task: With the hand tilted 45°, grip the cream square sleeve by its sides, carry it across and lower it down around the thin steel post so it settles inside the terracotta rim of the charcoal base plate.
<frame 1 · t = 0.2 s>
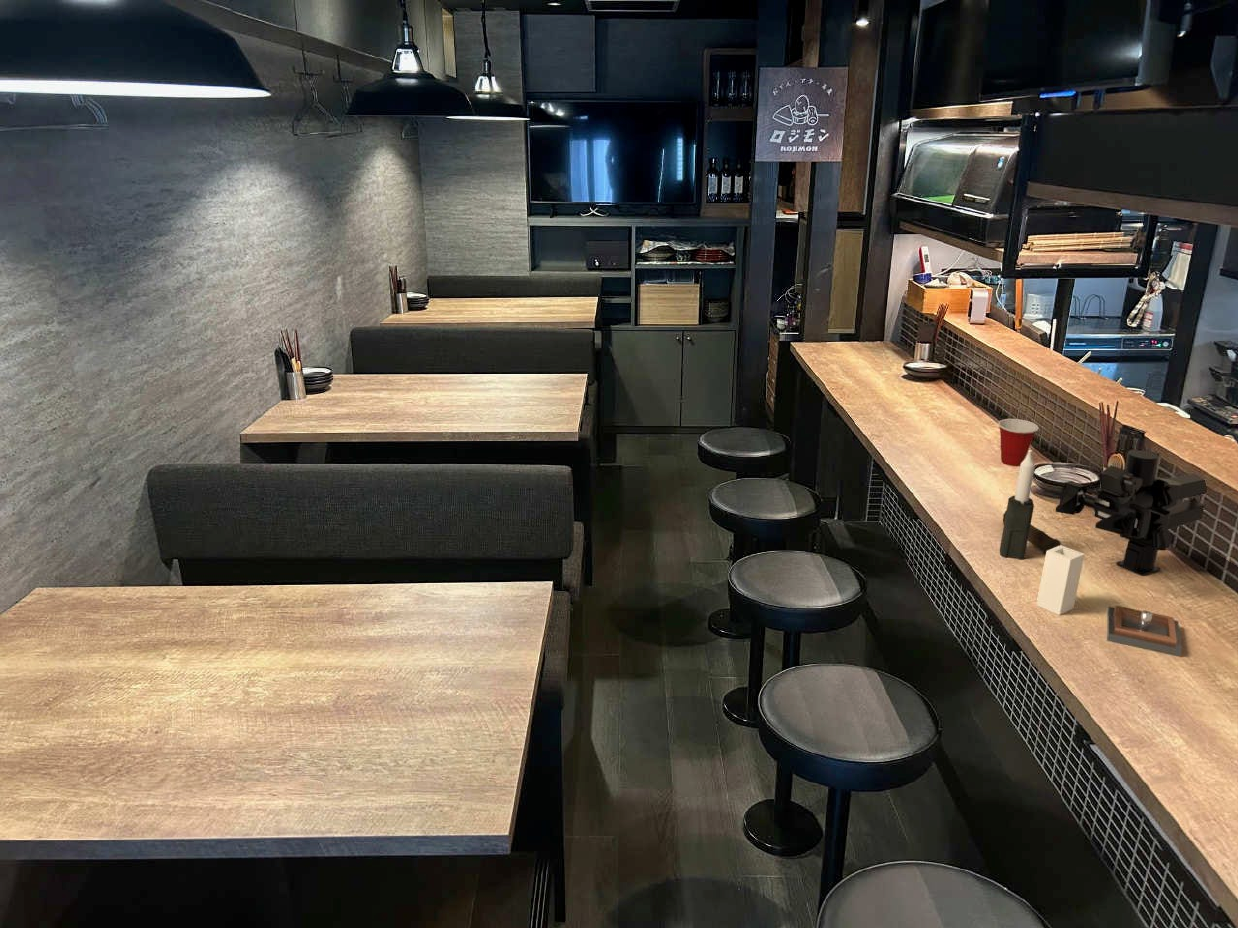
hand: (1075, 517, 187), 17 cm above the table, tool horizontal, fingers open, 9 cm apart
seat plate: (1142, 633, 176), on the table
sleeve: (1054, 606, 185), on the table
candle: (1011, 554, 209), on the table
plastic cup: (1011, 463, 269), on the table
hand tool: (1024, 540, 218), on the table
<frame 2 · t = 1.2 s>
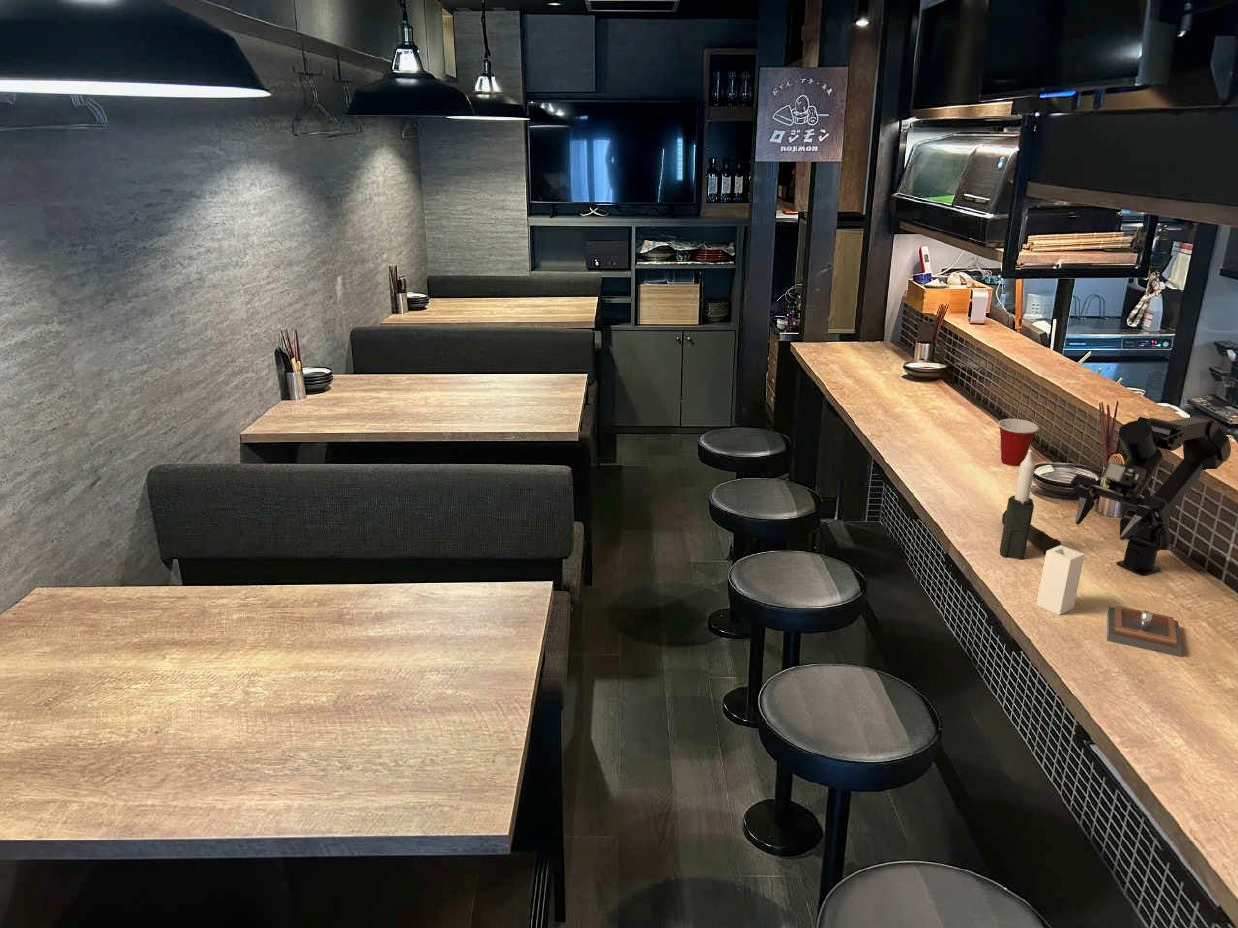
hand: (1098, 531, 187), 14 cm above the table, tool tilted 45°, fingers open, 9 cm apart
nothing on the table moved.
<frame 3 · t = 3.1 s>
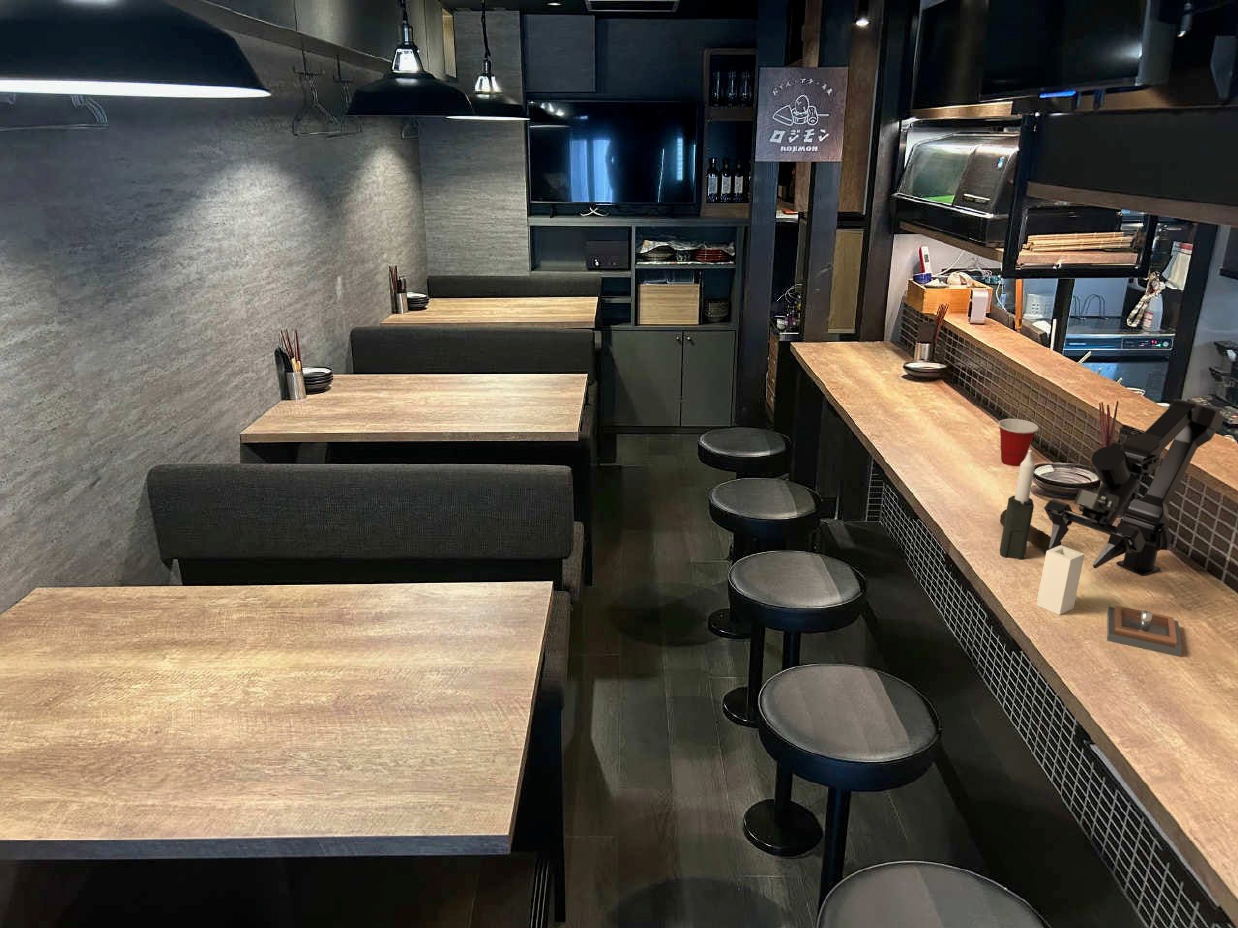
hand: (1071, 558, 184), 10 cm above the table, tool tilted 45°, fingers open, 9 cm apart
nothing on the table moved.
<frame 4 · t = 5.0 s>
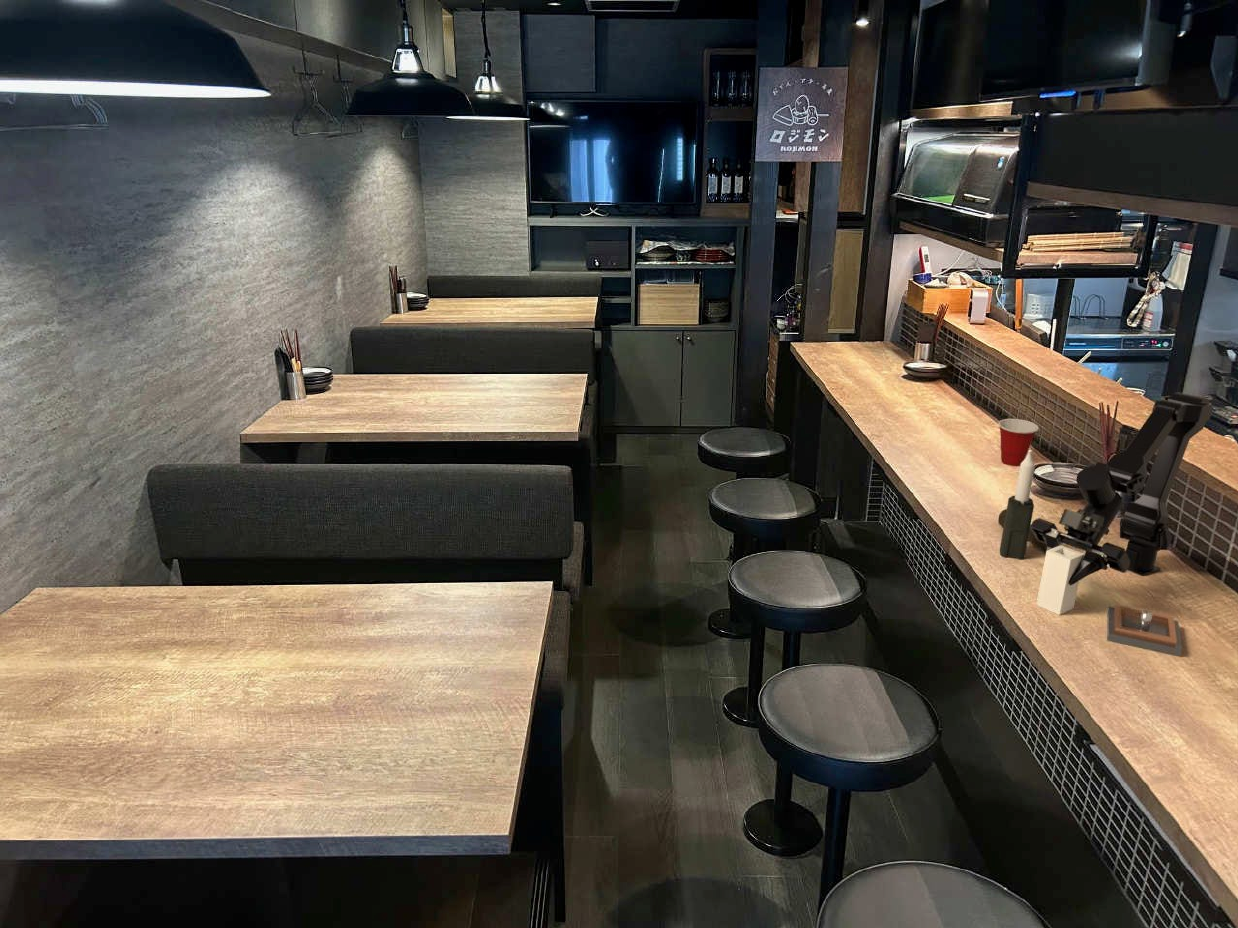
hand: (1056, 578, 182), 7 cm above the table, tool tilted 45°, fingers closed on sleeve, 5 cm apart
sleeve: (1054, 606, 185), on the table, touching gripper
everything else where it was.
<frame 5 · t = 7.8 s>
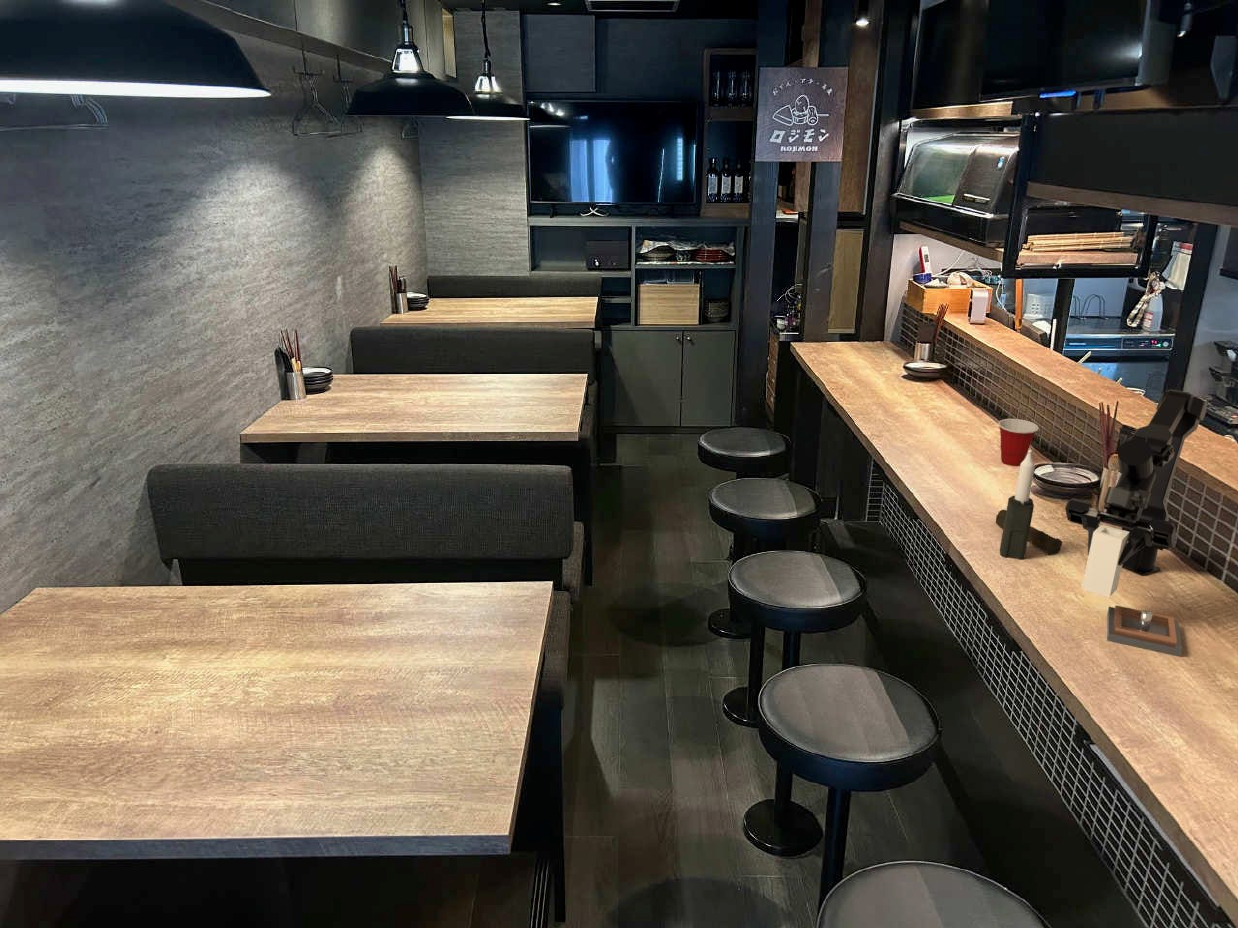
hand: (1103, 560, 175), 14 cm above the table, tool tilted 45°, fingers closed on sleeve, 5 cm apart
sleeve: (1099, 588, 178), point 7 cm above the table, touching gripper
everything else where it was.
when the fingers open (9 cm above the table, at t = 10.4 s): sleeve stays where it is, resting on seat plate.
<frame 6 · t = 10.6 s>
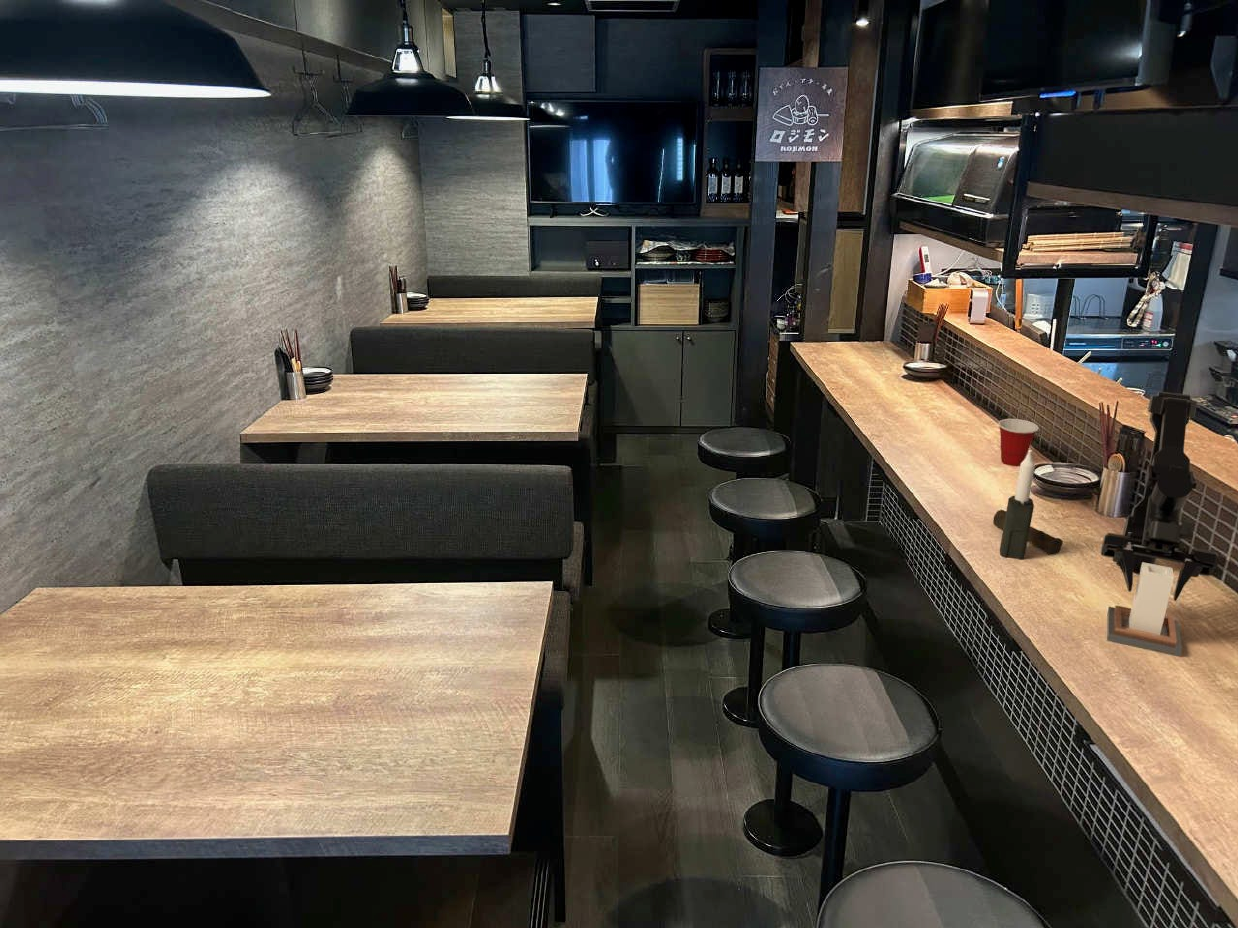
hand: (1152, 595, 172), 9 cm above the table, tool tilted 45°, fingers open, 7 cm apart
sleeve: (1144, 627, 175), point 2 cm above the table, touching seat plate
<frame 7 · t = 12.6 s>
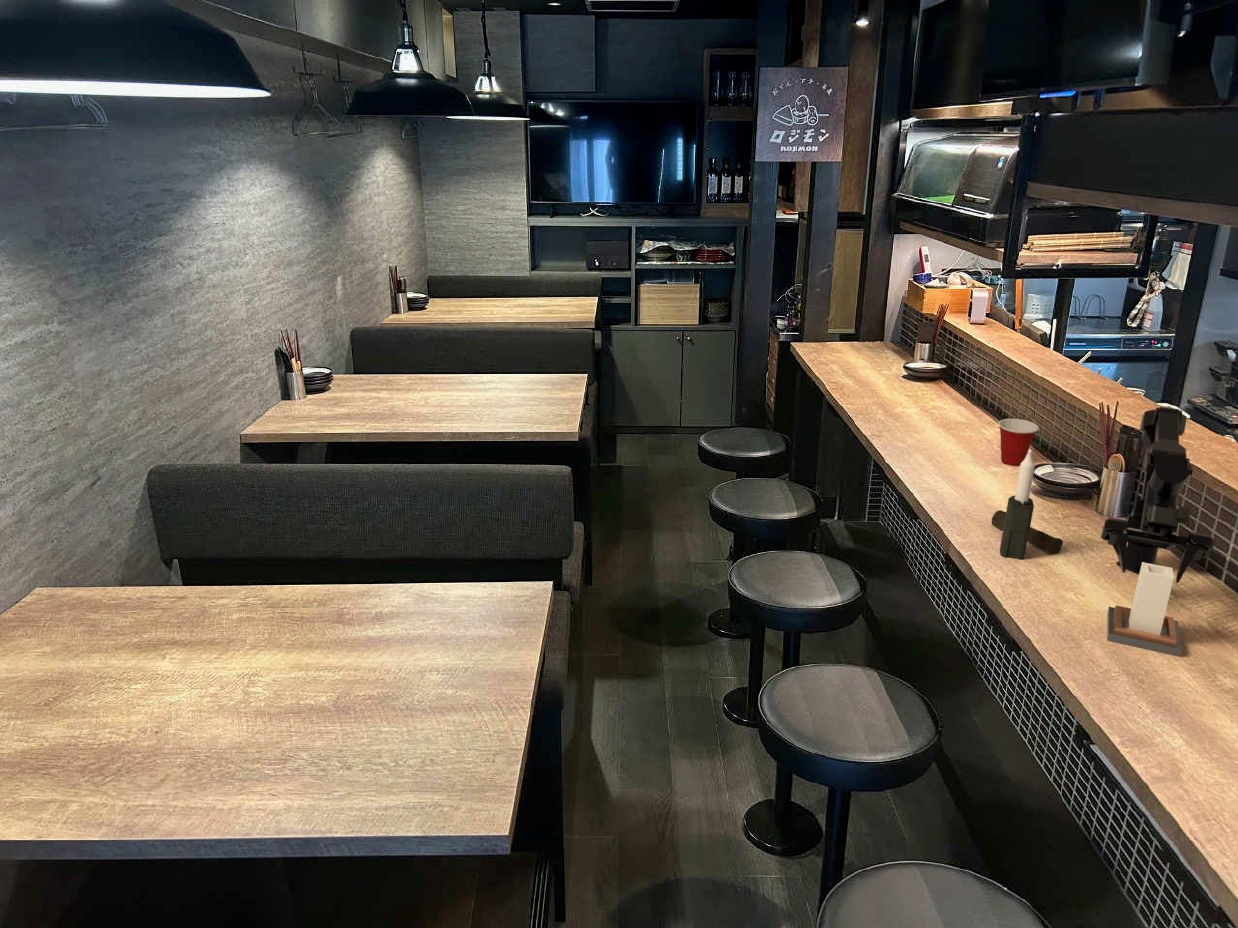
hand: (1150, 577, 179), 9 cm above the table, tool tilted 45°, fingers open, 9 cm apart
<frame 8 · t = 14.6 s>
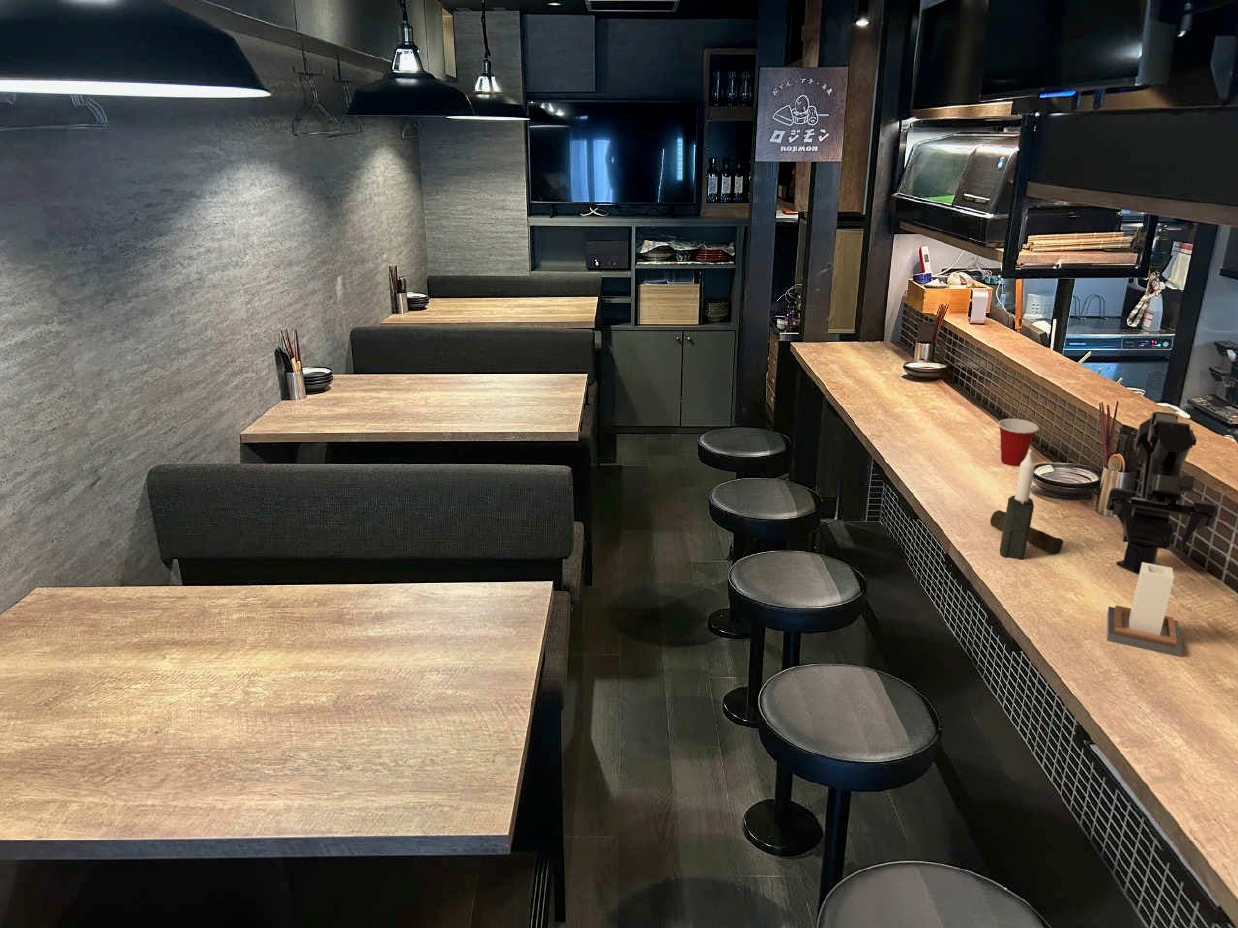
hand: (1154, 545, 182), 14 cm above the table, tool tilted 45°, fingers open, 9 cm apart
at the end: sleeve 0.0 cm off-centre on the seat plate, point 1.5 cm above the seat plate's base; sleeve tilted 0°; the gripper is holding nothing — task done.
